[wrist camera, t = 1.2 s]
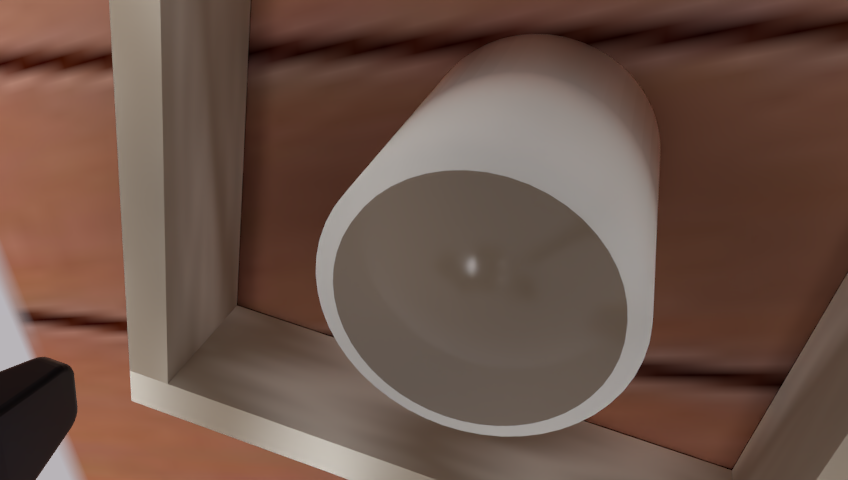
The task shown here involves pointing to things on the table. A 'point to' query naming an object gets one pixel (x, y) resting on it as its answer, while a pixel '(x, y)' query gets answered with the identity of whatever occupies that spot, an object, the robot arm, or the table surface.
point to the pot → (503, 243)
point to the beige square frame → (320, 354)
